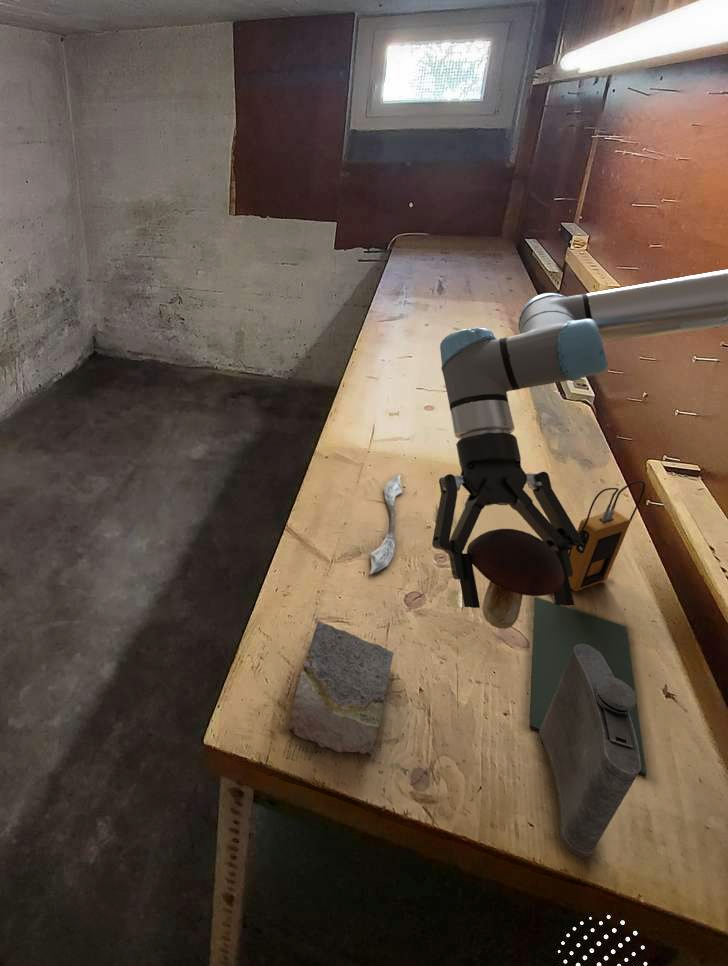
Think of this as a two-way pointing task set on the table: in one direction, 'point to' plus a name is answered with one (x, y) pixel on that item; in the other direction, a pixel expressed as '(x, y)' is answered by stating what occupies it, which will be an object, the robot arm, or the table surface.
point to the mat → (555, 645)
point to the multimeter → (598, 544)
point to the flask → (590, 747)
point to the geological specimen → (341, 691)
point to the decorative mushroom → (513, 571)
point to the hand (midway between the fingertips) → (518, 606)
